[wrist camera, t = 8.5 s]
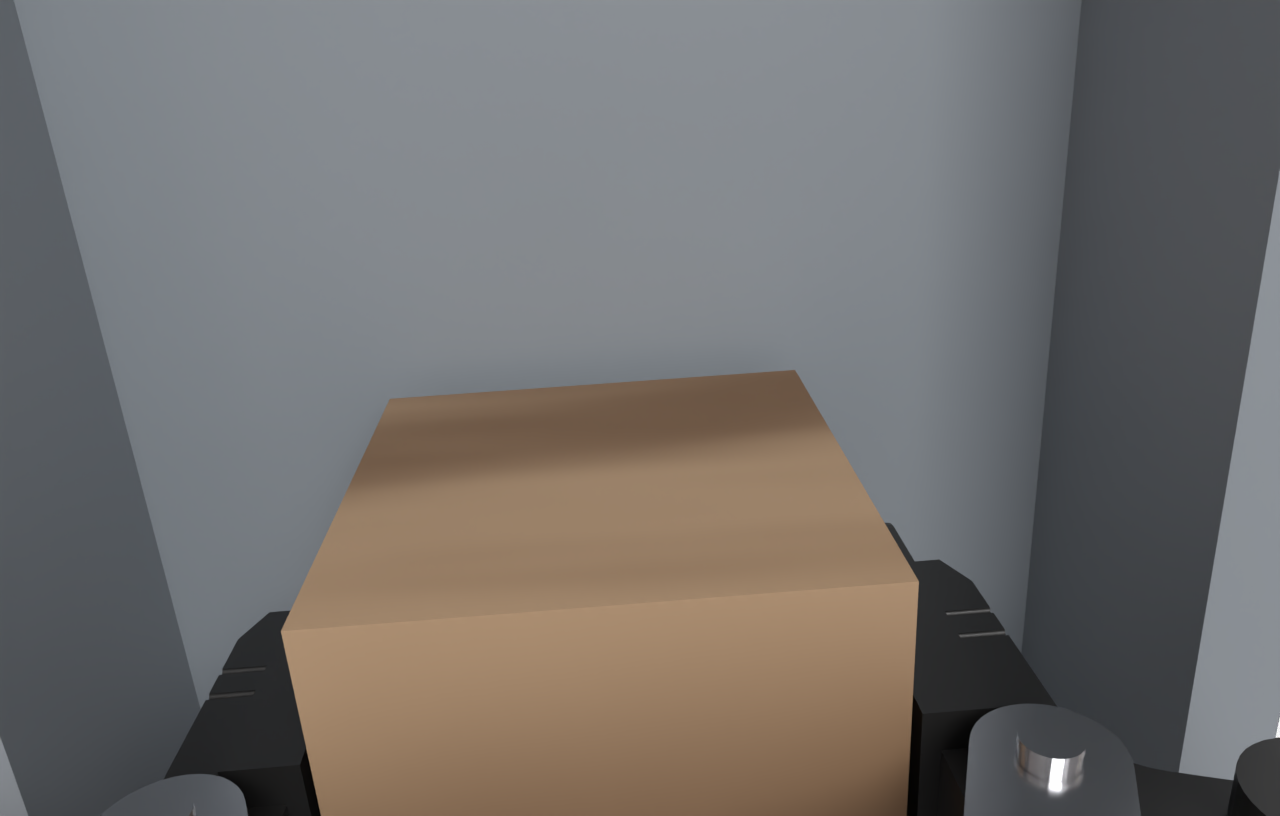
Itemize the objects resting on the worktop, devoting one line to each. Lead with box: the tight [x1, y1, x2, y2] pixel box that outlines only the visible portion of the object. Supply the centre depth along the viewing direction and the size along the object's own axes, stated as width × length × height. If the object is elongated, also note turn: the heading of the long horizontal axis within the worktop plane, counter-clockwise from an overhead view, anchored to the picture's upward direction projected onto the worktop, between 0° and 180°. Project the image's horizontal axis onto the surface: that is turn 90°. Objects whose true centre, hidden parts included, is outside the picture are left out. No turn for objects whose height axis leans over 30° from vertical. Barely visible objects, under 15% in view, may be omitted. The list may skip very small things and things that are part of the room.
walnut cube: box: [281, 370, 919, 816], centre depth 11 cm, size 5×5×5 cm
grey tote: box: [0, 0, 1280, 816], centre depth 11 cm, size 18×14×5 cm
